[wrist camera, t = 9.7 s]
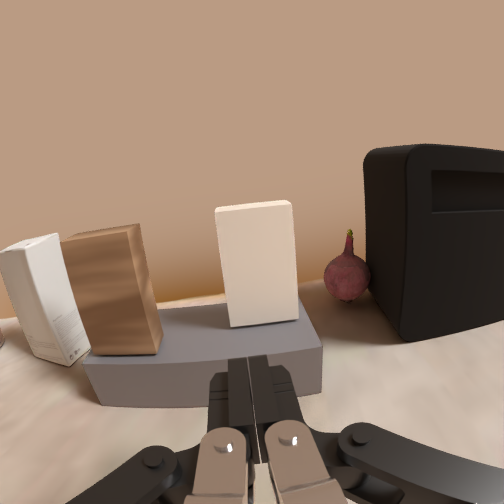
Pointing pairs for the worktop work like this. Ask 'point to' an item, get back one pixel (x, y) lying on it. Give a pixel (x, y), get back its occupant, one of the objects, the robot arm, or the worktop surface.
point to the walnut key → (113, 290)
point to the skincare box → (44, 299)
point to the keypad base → (204, 358)
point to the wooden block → (258, 262)
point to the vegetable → (347, 274)
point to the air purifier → (435, 237)
